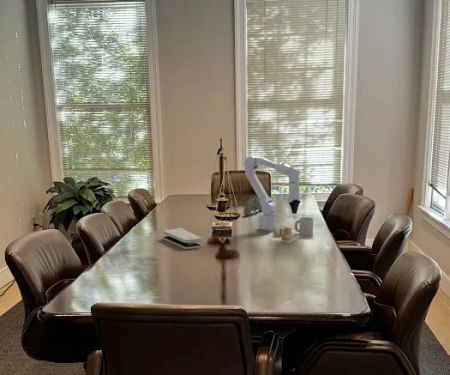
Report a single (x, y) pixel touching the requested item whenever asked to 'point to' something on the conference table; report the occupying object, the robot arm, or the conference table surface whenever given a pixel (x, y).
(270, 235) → the mat
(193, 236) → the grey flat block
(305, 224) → the cup
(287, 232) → the oak block
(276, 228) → the walnut block
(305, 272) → the conference table surface
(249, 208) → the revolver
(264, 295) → the conference table surface
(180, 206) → the conference table surface
